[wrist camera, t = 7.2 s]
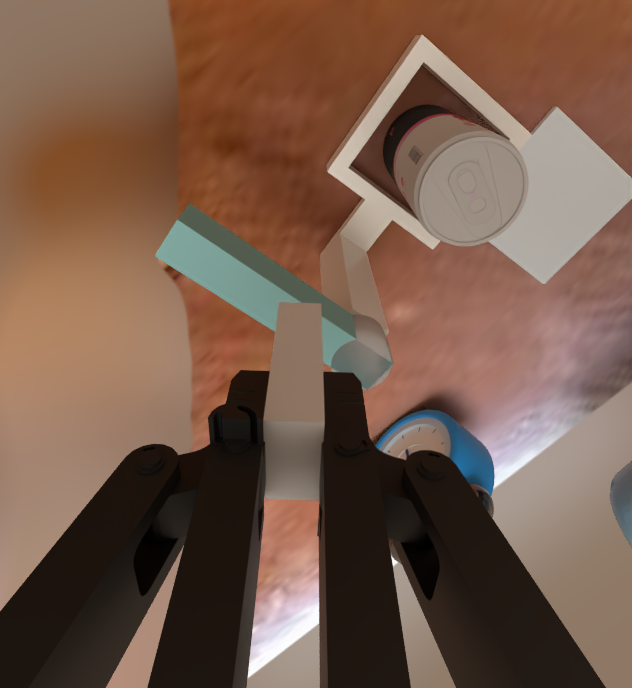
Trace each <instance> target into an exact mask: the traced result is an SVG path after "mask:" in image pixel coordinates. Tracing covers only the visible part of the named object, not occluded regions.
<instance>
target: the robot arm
mask: <svg viewBox="0 0 632 688" xmlns="http://www.w3.org/2000/svg"><path fill="white" fill-rule="evenodd" d="M208 423H209V434H210V444H209V445H208V446H207V447H205V448H203V449H201V450H198V451H195V452H191V453H186V454H182V455H178V454H177V452H176V451H175V450H174V449H173V448H171V447H169V446H166V445H162V444H151V445H146V446H142V447H140V448H138V449H136V450H134V451H132V452H131V453H130V454H129V455H128V456H126V457H125V459H124V460H123V461H122V462H121V463H120V465H119V466H118V467H117V469H116V470H115V471H114V472H113V473H112V475H111V476H110V477H109V478H108V479H107V481H106V482H105V483H104V484H103V486H102V487H101V488H100V490H99V491H98V492H97V493H96V494H95V495H94V497H93V498H92V499H91V500H90V502H89V503H88V504H87V505H86V507H85V508H84V509H83V510H82V511H81V513H80V514H79V515H78V516H77V518H76V519H75V520H74V521H73V523H72V524H71V525H70V526H69V528H68V529H67V530H66V531H65V532H64V534H63V535H62V536H61V538H60V539H59V540H58V541H57V542H56V544H55V545H54V546H53V547H52V548H51V550H50V551H49V552H48V553H47V555H46V556H45V557H44V558H43V560H42V561H41V562H40V564H39V565H38V566H37V567H36V568H35V569H34V571H33V572H32V573H31V574H30V575H29V577H28V578H27V579H26V580H25V582H24V583H23V584H22V586H21V587H20V588H19V589H18V590H17V592H16V593H15V594H14V595H13V596H12V598H11V599H10V600H9V601H8V603H7V604H6V605H5V606H4V608H3V609H2V610H1V611H0V688H106V686H107V684H108V682H109V681H110V679H111V677H112V675H113V673H114V671H115V670H116V668H117V666H118V664H119V662H120V661H121V658H122V657H123V655H124V653H125V651H126V650H127V648H128V646H129V644H130V642H131V640H132V639H133V637H134V635H135V633H136V631H137V629H138V627H139V626H140V624H141V622H142V620H143V619H144V617H145V615H146V613H147V611H148V609H149V608H150V606H151V604H152V602H153V600H154V598H155V596H156V595H157V593H158V591H159V589H160V587H161V586H162V584H163V582H164V580H165V578H166V577H167V575H168V572H169V571H170V569H171V567H172V566H173V564H174V562H175V560H176V558H177V556H178V554H179V553H180V551H181V549H182V547H183V545H184V548H183V552H182V555H181V559H180V563H179V567H178V571H177V575H176V579H175V583H174V587H173V590H172V595H171V598H170V602H169V606H168V610H167V614H166V618H165V621H164V626H163V630H162V633H161V637H160V641H159V645H158V649H157V653H156V657H155V660H154V664H153V668H152V672H151V676H150V680H149V684H148V688H246V686H247V677H248V667H249V657H250V647H251V638H252V628H253V618H254V608H255V599H256V589H257V579H258V569H259V560H260V550H261V540H262V530H263V521H264V496H265V499H280V500H320V504H319V520H318V536H319V625H320V688H411V686H410V679H409V672H408V666H407V659H406V652H405V646H404V639H403V632H402V626H401V619H400V612H399V605H398V599H397V592H396V586H395V579H394V572H393V565H392V559H391V552H390V545H389V539H388V538H390V539H392V540H393V545H394V547H395V549H396V552H397V554H398V556H399V559H400V561H401V563H402V565H403V567H404V570H405V572H406V574H407V577H408V579H409V581H410V584H411V586H412V588H413V590H414V593H415V595H416V597H417V600H418V601H419V604H420V606H421V609H422V611H423V613H424V616H425V618H426V620H427V622H428V624H429V627H430V629H431V632H432V634H433V636H434V638H435V641H436V643H437V645H438V647H439V649H440V652H441V654H442V657H443V659H444V661H445V663H446V666H447V668H448V670H449V672H450V675H451V677H452V679H453V681H454V684H455V686H456V688H606V687H605V686H604V684H603V683H602V681H601V680H600V678H599V677H598V675H597V674H596V672H595V671H594V670H593V668H592V667H591V665H590V663H589V662H588V661H587V659H586V657H585V656H584V655H583V653H582V651H581V650H580V648H579V647H578V645H577V644H576V643H575V641H574V640H573V638H572V637H571V635H570V634H569V632H568V631H567V629H566V628H565V626H564V625H563V623H562V622H561V620H560V619H559V617H558V616H557V614H556V613H555V611H554V610H553V608H552V607H551V605H550V604H549V602H548V601H547V599H546V598H545V597H544V595H543V593H542V592H541V590H540V589H539V587H538V586H537V585H536V583H535V581H534V580H533V578H532V577H531V575H530V574H529V572H528V571H527V569H526V568H525V566H524V565H523V563H522V562H521V560H520V559H519V557H518V556H517V555H516V553H515V552H514V550H513V549H512V547H511V546H510V544H509V543H508V541H507V540H506V538H505V537H504V535H503V534H502V532H501V531H500V529H499V528H498V526H497V525H496V523H495V522H494V520H493V519H492V517H491V516H490V514H489V513H488V511H487V510H486V508H485V507H484V505H483V504H482V502H481V501H480V499H479V498H478V496H477V495H476V493H475V492H474V490H473V489H472V487H471V486H470V484H469V483H468V481H467V480H466V478H465V477H464V475H463V474H462V472H461V471H460V469H459V468H458V467H457V465H456V464H455V463H454V462H453V461H452V460H451V459H450V458H449V457H447V456H445V455H444V454H442V453H439V452H435V451H432V450H420V451H416V452H413V453H411V454H410V455H409V456H408V457H407V458H406V460H404V459H401V458H397V457H393V456H391V455H388V454H385V453H384V452H382V451H380V450H379V449H378V448H376V447H375V446H374V444H373V442H372V440H371V439H370V437H369V433H368V426H367V419H366V412H365V405H364V398H363V391H362V384H361V381H360V380H359V379H358V378H357V377H356V375H355V374H354V373H349V372H323V348H322V314H321V304H319V303H289V302H279V307H278V315H277V322H276V330H275V337H274V344H273V352H272V359H271V367H270V371H248V370H240V371H239V373H238V374H237V375H236V376H235V377H234V378H233V379H232V380H231V384H230V388H229V392H228V396H227V401H226V404H224V405H221V406H219V407H217V408H216V409H214V410H213V411H212V412H211V414H210V415H209V417H208ZM610 491H611V492H610V501H611V505H612V509H613V512H614V515H615V517H616V520H617V522H618V524H619V526H620V528H621V530H622V532H623V534H624V536H625V538H626V539H627V541H628V542H629V544H630V546H631V547H632V461H631V462H630V463H629V464H627V465H626V466H625V467H624V468H623V469H622V470H620V471H619V472H618V473H617V474H616V475H615V477H614V478H613V480H612V482H611V489H610Z"/></svg>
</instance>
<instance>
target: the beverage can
mask: <svg viewBox="0 0 632 688" xmlns="http://www.w3.org/2000/svg"><path fill="white" fill-rule="evenodd" d="M383 156H384V162H385V165H386V168H387V170H388V172H389V174H390V175H391V177H392V178H393V180H394V182H395V183H396V185H397V186H398V188H399V190H400V191H401V193H402V194H403V196H404V198H405V199H406V201H407V202H408V204H409V205H410V207H411V209H412V210H413V212H414V213H415V215H416V217H417V218H418V220H419V221H420V223H421V224H422V226H423V227H424V228H425V230H426V231H427V232H428V233H429V234H431V235H432V236H433V237H435V238H436V239H438V240H440V241H443V242H445V243H448V244H451V245H456V246H474V245H479V244H482V243H485V242H488V241H490V240H492V239H494V238H496V237H497V236H499V235H500V234H502V233H503V232H504V231H505V230H506V229H508V228H509V227H510V226H511V224H512V223H513V222H514V221H515V220H516V218H517V217H518V215H519V214H520V212H521V210H522V208H523V206H524V203H525V201H526V197H527V193H528V182H529V181H528V172H527V168H526V165H525V163H524V161H523V158H522V156H521V154H520V152H519V151H518V149H517V148H516V147H515V146H514V145H513V144H512V143H511V142H510V141H509V140H507V139H506V138H504V137H502V136H500V135H498V134H496V133H494V132H492V131H490V130H488V129H486V128H484V127H481V126H479V125H477V124H475V123H473V122H471V121H469V120H467V119H465V118H462V117H460V116H458V115H456V114H454V113H452V112H450V111H448V110H446V109H443V108H441V107H438V106H434V105H422V106H417V107H414V108H412V109H410V110H408V111H406V112H404V113H403V114H402V115H401V116H399V117H398V118H397V119H396V120H395V122H394V123H393V124H392V126H391V127H390V129H389V131H388V133H387V135H386V138H385V142H384V148H383Z"/></svg>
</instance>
